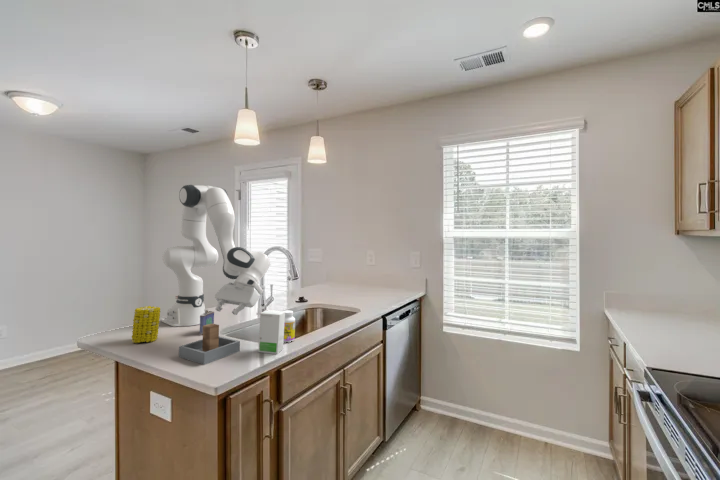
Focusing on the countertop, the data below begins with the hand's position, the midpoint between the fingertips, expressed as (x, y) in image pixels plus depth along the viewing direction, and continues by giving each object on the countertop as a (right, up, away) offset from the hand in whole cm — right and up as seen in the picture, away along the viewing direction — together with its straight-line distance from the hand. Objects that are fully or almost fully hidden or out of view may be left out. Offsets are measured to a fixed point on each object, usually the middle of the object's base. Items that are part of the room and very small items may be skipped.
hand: (225, 312), depth 135 cm
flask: (-17, -14, +21) cm, 31 cm away
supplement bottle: (+22, -15, +12) cm, 29 cm away
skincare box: (+19, -15, -1) cm, 24 cm away
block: (-3, -14, -6) cm, 15 cm away
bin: (-3, -15, -6) cm, 16 cm away
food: (-37, -14, +8) cm, 40 cm away
